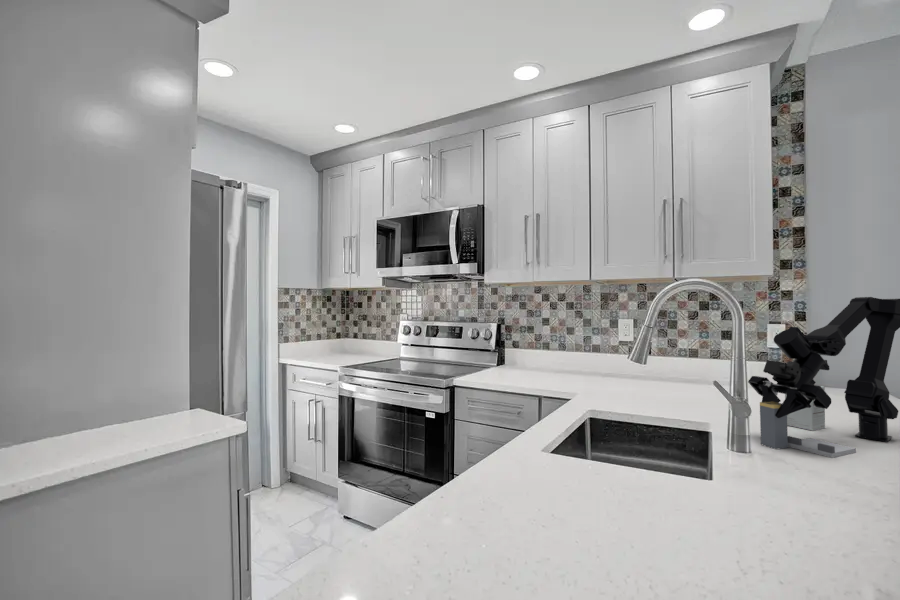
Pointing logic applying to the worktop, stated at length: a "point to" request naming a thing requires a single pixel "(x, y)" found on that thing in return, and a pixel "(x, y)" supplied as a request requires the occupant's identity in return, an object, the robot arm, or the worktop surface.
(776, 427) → the grey block
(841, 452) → the pad
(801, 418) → the supplement box
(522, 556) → the worktop surface
